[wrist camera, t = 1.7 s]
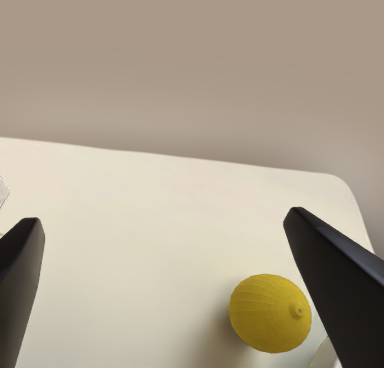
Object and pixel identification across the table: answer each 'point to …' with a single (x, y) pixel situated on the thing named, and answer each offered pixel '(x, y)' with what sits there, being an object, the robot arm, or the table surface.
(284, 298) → the lemon
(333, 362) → the serving bowl
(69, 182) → the table surface
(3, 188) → the medicine bottle
